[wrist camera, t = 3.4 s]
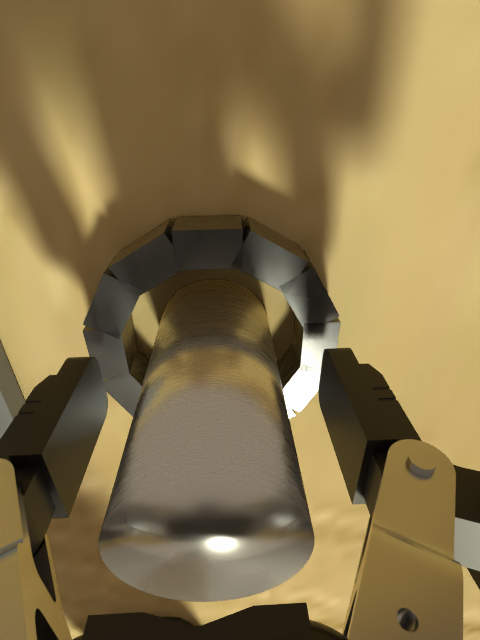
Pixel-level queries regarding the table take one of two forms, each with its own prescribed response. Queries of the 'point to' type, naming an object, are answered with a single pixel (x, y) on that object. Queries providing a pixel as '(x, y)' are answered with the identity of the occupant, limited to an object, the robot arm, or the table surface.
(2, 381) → the slate mat
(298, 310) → the metal eye
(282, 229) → the table surface
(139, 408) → the cylinder
